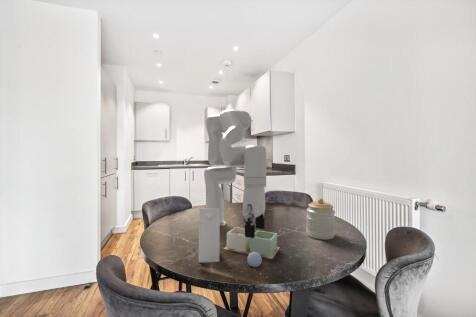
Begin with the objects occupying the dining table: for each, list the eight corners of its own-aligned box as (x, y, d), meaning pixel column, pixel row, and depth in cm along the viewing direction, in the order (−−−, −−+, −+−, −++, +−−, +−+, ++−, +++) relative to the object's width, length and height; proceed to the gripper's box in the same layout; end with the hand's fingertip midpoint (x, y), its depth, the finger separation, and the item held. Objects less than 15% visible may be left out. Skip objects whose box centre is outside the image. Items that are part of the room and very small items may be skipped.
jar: (301, 235, 108) (301, 198, 107) (313, 228, 117) (313, 194, 117) (328, 242, 99) (329, 202, 99) (339, 235, 108) (339, 198, 108)
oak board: (223, 251, 89) (223, 248, 89) (235, 242, 99) (235, 239, 99) (272, 262, 81) (272, 258, 80) (280, 250, 90) (280, 247, 90)
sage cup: (250, 252, 86) (250, 236, 86) (257, 244, 93) (257, 230, 93) (270, 256, 82) (271, 240, 82) (276, 248, 90) (277, 233, 89)
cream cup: (226, 247, 90) (226, 232, 90) (235, 240, 97) (235, 226, 97) (245, 251, 86) (245, 236, 86) (253, 243, 94) (253, 229, 94)
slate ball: (244, 268, 76) (244, 254, 76) (250, 262, 80) (250, 248, 80) (258, 272, 74) (258, 256, 74) (263, 265, 78) (263, 251, 78)
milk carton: (200, 256, 85) (200, 206, 84) (219, 256, 85) (219, 205, 85) (198, 266, 78) (198, 210, 77) (219, 265, 78) (219, 210, 78)
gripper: (253, 179, 86) (254, 224, 86) (233, 184, 70) (234, 239, 70) (273, 180, 83) (273, 227, 83) (256, 185, 67) (256, 243, 67)
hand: (255, 232), depth 76 cm, fingers open, 9 cm apart
